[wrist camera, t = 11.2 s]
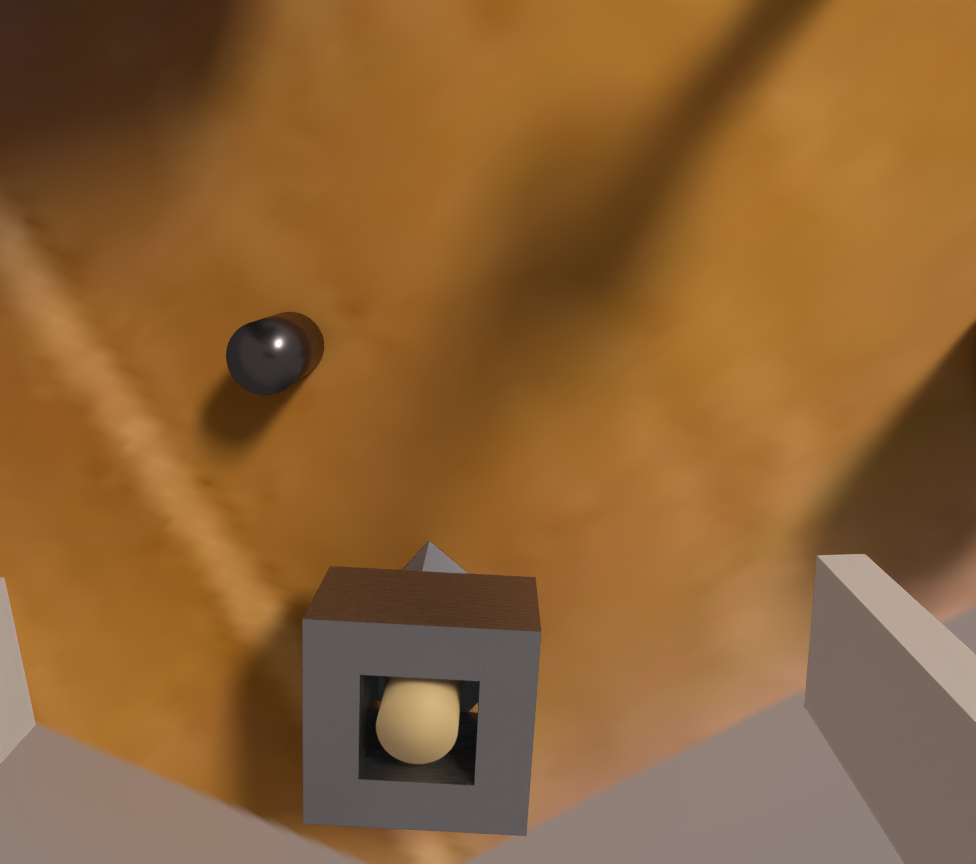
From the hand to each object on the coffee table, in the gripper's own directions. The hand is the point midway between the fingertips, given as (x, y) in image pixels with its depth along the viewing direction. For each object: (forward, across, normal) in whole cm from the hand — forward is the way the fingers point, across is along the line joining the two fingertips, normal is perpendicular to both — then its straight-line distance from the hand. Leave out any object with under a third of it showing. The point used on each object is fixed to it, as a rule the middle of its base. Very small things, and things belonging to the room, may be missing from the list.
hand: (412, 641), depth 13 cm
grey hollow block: (+20, -2, -13) cm, 24 cm away
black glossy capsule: (+25, -8, +1) cm, 26 cm away
